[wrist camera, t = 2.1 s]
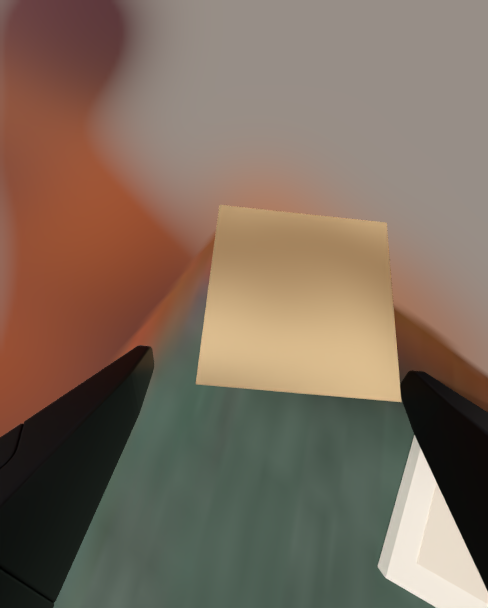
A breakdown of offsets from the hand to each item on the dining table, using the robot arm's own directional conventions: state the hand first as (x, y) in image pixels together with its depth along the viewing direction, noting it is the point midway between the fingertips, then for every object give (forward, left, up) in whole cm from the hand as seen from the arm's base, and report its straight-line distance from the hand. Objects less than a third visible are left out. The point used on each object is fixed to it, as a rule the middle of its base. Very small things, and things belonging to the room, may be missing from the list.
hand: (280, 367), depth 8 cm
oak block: (+2, +1, -10) cm, 10 cm away
